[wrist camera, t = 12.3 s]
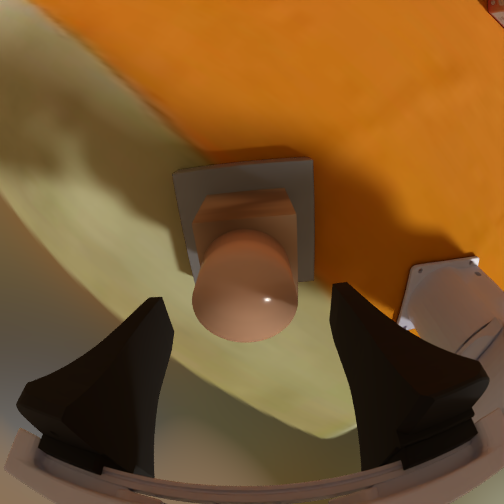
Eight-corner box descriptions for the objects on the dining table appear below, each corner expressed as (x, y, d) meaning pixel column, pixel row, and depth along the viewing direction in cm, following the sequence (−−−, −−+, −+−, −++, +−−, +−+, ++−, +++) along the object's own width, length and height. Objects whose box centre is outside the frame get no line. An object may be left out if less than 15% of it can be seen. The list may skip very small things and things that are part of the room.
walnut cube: (284, 187, 17) (296, 214, 13) (287, 256, 20) (297, 299, 15) (206, 194, 17) (191, 223, 13) (217, 262, 20) (209, 305, 15)
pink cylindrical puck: (291, 299, 15) (298, 337, 12) (211, 306, 15) (205, 345, 13) (286, 224, 13) (295, 253, 10) (194, 234, 13) (180, 265, 11)
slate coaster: (308, 156, 18) (312, 160, 16) (310, 270, 22) (313, 280, 21) (177, 169, 18) (172, 174, 17) (199, 279, 22) (196, 290, 21)
